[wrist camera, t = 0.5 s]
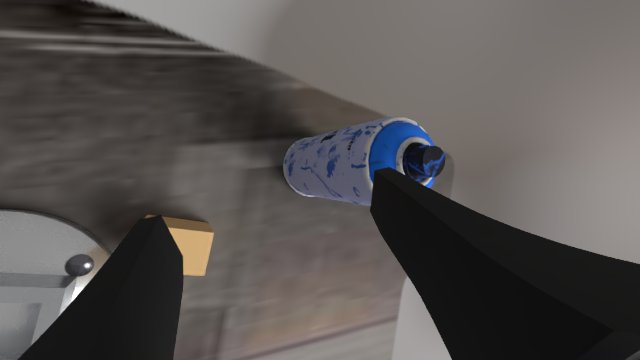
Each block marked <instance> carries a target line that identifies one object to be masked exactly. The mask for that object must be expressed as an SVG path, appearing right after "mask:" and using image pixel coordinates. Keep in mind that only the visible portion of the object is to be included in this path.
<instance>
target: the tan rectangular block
mask: <svg viewBox="0 0 640 360" xmlns="http://www.w3.org/2000/svg"><path fill="white" fill-rule="evenodd" d="M153 216H155V215H146V217H145V218H149V217H153ZM162 218H163V219H164V221H165V223H166V225H167V227H168V229H169V231H170V233H171V234H172V236H173V238H174V240H175V242H176V244H177V246H178V248H179V250H180V251H181V253H182V255H183V275H196V276H204V275H205V271H206V266H207V262H208V258H209V253H210V249H211V244H212V240H213V235H214V232H213V230H212V228H211V226H210V225H209V223H207V222H200V221H192V220H185V219H177V218H170V217H162Z"/></svg>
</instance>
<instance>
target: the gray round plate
mask: <svg viewBox="0 0 640 360" xmlns="http://www.w3.org/2000/svg"><path fill="white" fill-rule="evenodd" d="M111 255H112V253H111V252H110V250H109V249H108V248H107V246H105V245H104V244H103V243H102V242H101V241H100V240H99V239H98V238H97V237H96V236H94V235H93V234H92V233H90V232H89V231H88V230H86V229H84V228H82V227H81V226H79V225H77V224H75V223H73V222H70V221H68V220H65V219H63V218H60V217H57V216H53V215H50V214H46V213H41V212H35V211H29V210H18V209H0V360H17V359H18V358H19V357H20V356H21V355H22V354H23V353H24V352H25V351H26V350H27V349H28V348H29V347H30V346H31V345H32V344H33V343H34V342H35V341H36V340H37V339H38V338H39V337H40V336H41V335H42V334H43V333H44V332H45V331H46V330H47V329H48V328H49V327H50V325H51V324H52V323H53V322H54V321H55V320H56V319H57V318H58V317H59V316H60V314H61V313H62V312H63V311H64V310H65V309H66V308H67V307H68V305H69V304H70V303H71V302H72V301H73V300H74V299H75V297H76V296H77V295H78V294H79V293H80V292H81V291H82V289H83V288H84V287H85V286H86V285H87V284H88V283H89V282H90V280H91V279H92V278H93V277H94V275H95V274H96V273H97V272H98V271H99V269H100V268H101V267H102V266H103V264H104V263H105V262H106V261H107V259H108V258H109V257H110V256H111Z"/></svg>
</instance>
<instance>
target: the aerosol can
mask: <svg viewBox="0 0 640 360" xmlns="http://www.w3.org/2000/svg"><path fill="white" fill-rule="evenodd" d="M444 165H445V155H444V152H443V151H442V150H441V149H440V148H439V147H437V146H434V143H433V142H432V140H431V138H430V137H429V135H428V134H427V133H426V132H425V130H424V129H423V128H422V127H421V126H420V125H419V124H418V123H416V122H415V121H413V120H410V119H407V118H405V117H385V118H381V119H377V120H374V121H370V122H366V123H363V124H359V125H355V126H352V127H348V128H344V129H341V130H337V131H333V132H330V133H326V134H322V135H319V136H315V137H307V138H303V139H300V140H298V141H296V142H295V143H294V144H293V145H292V146H290V147H289V149H288V151H287V153H286V154H285V157H284V162H283V171H284V177H285V179H286V181H287V183H288V185H289V186H290V187H291V188H292V189H293V190H294V191H295V192H297V193H299V194H300V195H303V196H308V197H315V196H317V197H322V198H328V199H334V200H339V201H345V202H351V203H357V204H362V205H368V206H371V198H372V188H373V179H374V170H378V169H382V168H387V167H391V168H393V169H395V170H397V171H399V172H401V173H403V174H404V175H406V176H408V177H410V178H412V179H413V180H415V181H417V182H419V183H421V184H423V185H424V186H426V187H428V188H430V187H431V186H432V184H433V182H434V179H435V177H436V176H437V175H439V174H440V172H441V171H442V170H443V167H444Z"/></svg>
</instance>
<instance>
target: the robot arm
mask: <svg viewBox="0 0 640 360" xmlns="http://www.w3.org/2000/svg"><path fill="white" fill-rule="evenodd" d="M370 212H371V214H372V216H373V219H374V221H375V223H376V225H377V227H378V229H379V231H380V233H381V235H382V237H383V238H384V240H385V241H386V243H387V245H388V246H389V248H390V249H391V251H392V252H393V254H394V255H395V257H396V258H397V260H398V261H399V263H400V265H401V266H402V268H403V269H404V271H405V272H406V274H407V275H408V277H409V278H410V280H411V281H412V283H413V284H414V286H415V288H416V290H417V291H418V293H419V295H420V296H421V298H422V300H423V302H424V304H425V306H426V308H427V310H428V312H429V313H430V315H431V317H432V319H433V321H434V323H435V325H436V327H437V329H438V331H439V333H440V335H441V338H442V339H443V342H444V344H445V346H446V348H447V350H448V352H449V354H450V356H451V358H452V360H640V264H636V263H633V262H628V261H624V260H619V259H615V258H611V257H607V256H603V255H600V254H596V253H593V252H589V251H586V250H582V249H578V248H575V247H571V246H568V245H565V244H561V243H558V242H555V241H552V240H549V239H546V238H543V237H540V236H537V235H534V234H531V233H528V232H525V231H522V230H520V229H517V228H514V227H511V226H509V225H507V224H504V223H502V222H499V221H497V220H494V219H492V218H489V217H487V216H485V215H482V214H480V213H478V212H476V211H474V210H471V209H469V208H467V207H465V206H463V205H461V204H459V203H457V202H455V201H453V200H451V199H449V198H447V197H445V196H443V195H441V194H439V193H437V192H435V191H434V190H432V189H430V188H428V187H426V186H424V185H423V184H421V183H419V182H417V181H415V180H413V179H412V178H410V177H408V176H406V175H404V174H403V173H401V172H399V171H397V170H395V169H393V168H391V167H387V168H382V169H378V170H374V179H373V188H372V198H371V208H370ZM182 292H183V255H182V253H181V251H180V250H179V248H178V246H177V244H176V242H175V240H174V238H173V236H172V234H171V233H170V231H169V229H168V227H167V225H166V223H165V221H164V219H163V218H162V216H161V215H158V216H153V217H149V218H144V219H140V220H139V221H138V222H137V223H136V224H135V226H134V227H133V228H132V229H131V231H130V232H129V233H128V234H127V236H126V237H125V238H124V239H123V241H122V242H121V243H120V244H119V246H118V247H117V248H116V250H115V251H114V252H113V253H112V255H111V256H110V257H109V258H108V259H107V261H106V262H105V263H104V264H103V266H102V267H101V268H100V269H99V271H98V272H97V273H96V274H95V275H94V277H93V278H92V279H91V280H90V282H89V283H88V284H87V285H86V286H85V287H84V288H83V289H82V291H81V292H80V293H79V294H78V295H77V296H76V297H75V299H74V300H73V301H72V302H71V303H70V304H69V305H68V307H67V308H66V309H65V310H64V311H63V312H62V313H61V314H60V316H59V317H58V318H57V319H56V320H55V321H54V322H53V323H52V324H51V325H50V327H49V328H48V329H47V330H46V331H45V332H44V333H43V334H42V335H41V336H40V337H39V338H38V339H37V340H36V341H35V342H34V343H33V344H32V345H31V346H30V347H29V348H28V349H27V350H26V351H25V352H24V353H23V354H22V355H21V356H20V357H19V358H18V359H17V360H173V356H174V349H175V342H176V335H177V328H178V321H179V314H180V307H181V299H182Z"/></svg>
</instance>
